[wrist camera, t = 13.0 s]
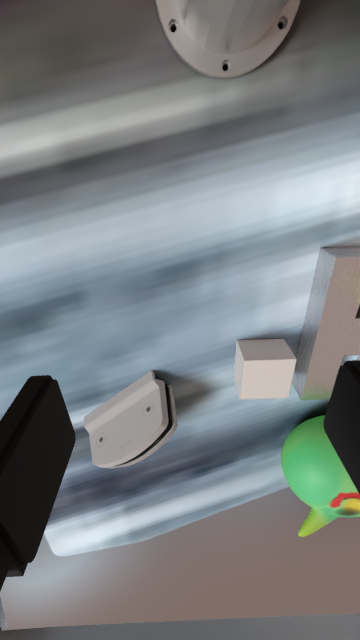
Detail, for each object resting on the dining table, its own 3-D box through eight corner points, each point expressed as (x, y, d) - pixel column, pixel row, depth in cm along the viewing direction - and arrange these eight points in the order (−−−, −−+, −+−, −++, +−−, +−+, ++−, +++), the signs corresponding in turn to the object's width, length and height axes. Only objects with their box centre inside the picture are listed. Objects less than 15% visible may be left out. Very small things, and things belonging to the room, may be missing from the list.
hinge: (153, 368, 45) (166, 429, 38) (171, 378, 48) (186, 436, 41) (82, 418, 50) (82, 479, 43) (103, 424, 53) (106, 482, 46)
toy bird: (383, 395, 49) (458, 480, 36) (353, 458, 57) (406, 545, 44) (278, 397, 48) (316, 482, 35) (264, 460, 56) (290, 548, 44)
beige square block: (236, 340, 42) (244, 360, 38) (283, 338, 42) (296, 359, 38) (233, 376, 46) (240, 399, 41) (277, 375, 46) (288, 397, 41)
